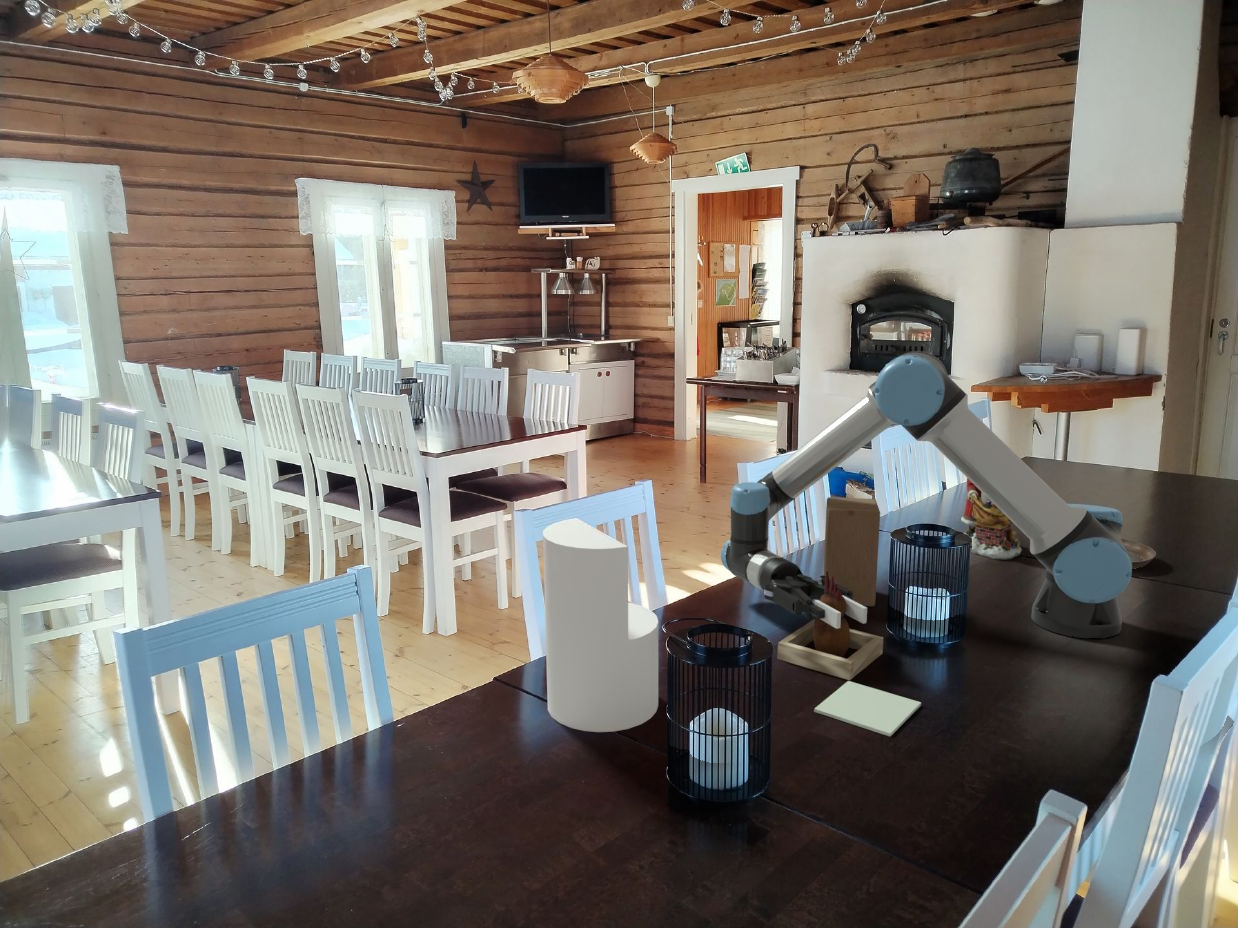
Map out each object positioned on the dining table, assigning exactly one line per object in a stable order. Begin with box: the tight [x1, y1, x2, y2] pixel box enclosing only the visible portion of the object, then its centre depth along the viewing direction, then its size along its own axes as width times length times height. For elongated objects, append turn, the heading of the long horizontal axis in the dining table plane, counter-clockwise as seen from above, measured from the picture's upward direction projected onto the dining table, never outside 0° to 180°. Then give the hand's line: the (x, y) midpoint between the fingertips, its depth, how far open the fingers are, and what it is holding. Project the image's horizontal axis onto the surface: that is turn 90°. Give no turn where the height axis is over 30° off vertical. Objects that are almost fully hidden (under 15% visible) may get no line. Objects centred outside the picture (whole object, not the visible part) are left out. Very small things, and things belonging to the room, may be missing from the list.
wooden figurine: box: [813, 571, 850, 658], centre depth 152 cm, size 7×6×15 cm
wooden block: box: [822, 496, 881, 607], centre depth 179 cm, size 10×10×20 cm
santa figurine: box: [960, 477, 1023, 560], centre depth 210 cm, size 17×14×25 cm
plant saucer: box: [1121, 538, 1157, 570], centre depth 204 cm, size 21×21×3 cm
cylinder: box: [542, 517, 659, 733], centre depth 134 cm, size 17×17×28 cm
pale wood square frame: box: [776, 619, 884, 681], centre depth 153 cm, size 13×13×3 cm
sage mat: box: [813, 680, 922, 737], centre depth 135 cm, size 12×12×1 cm
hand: (851, 618), depth 147 cm, fingers closed on wooden figurine, 5 cm apart
